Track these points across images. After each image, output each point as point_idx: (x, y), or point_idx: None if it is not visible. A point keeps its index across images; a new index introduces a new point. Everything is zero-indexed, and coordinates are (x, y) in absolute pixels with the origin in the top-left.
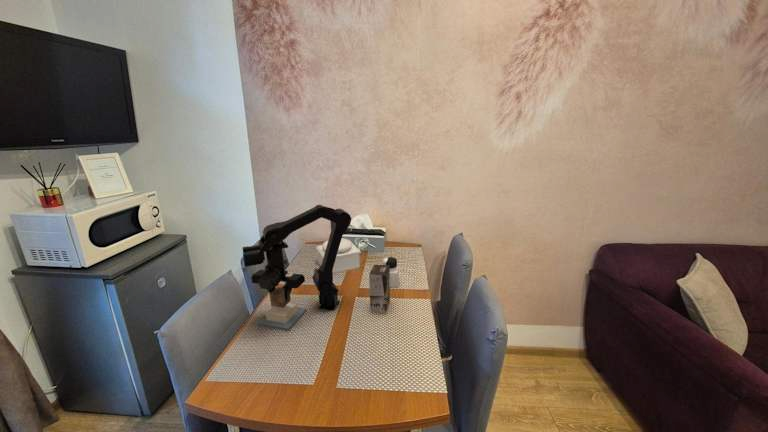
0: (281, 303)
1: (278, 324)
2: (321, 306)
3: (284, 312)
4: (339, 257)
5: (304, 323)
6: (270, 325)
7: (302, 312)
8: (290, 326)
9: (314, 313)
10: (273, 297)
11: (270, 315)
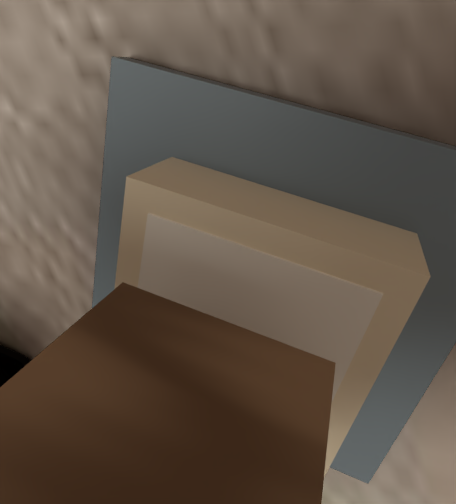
0: (103, 330)
1: (245, 136)
2: (10, 369)
3: (164, 257)
4: None
5: (46, 180)
6: (338, 119)
7: None
8: (110, 100)
9: (34, 306)
10: (214, 493)
11: (352, 241)
